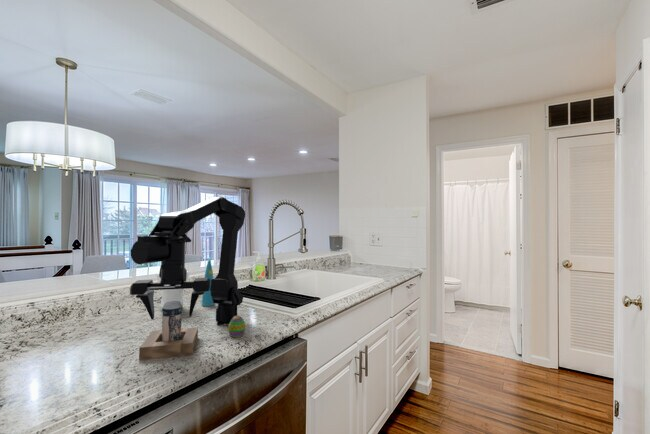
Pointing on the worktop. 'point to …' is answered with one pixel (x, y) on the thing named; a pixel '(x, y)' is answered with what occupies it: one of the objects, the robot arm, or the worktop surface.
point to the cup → (171, 293)
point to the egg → (236, 327)
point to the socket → (168, 345)
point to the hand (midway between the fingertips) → (171, 317)
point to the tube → (207, 294)
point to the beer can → (171, 321)
